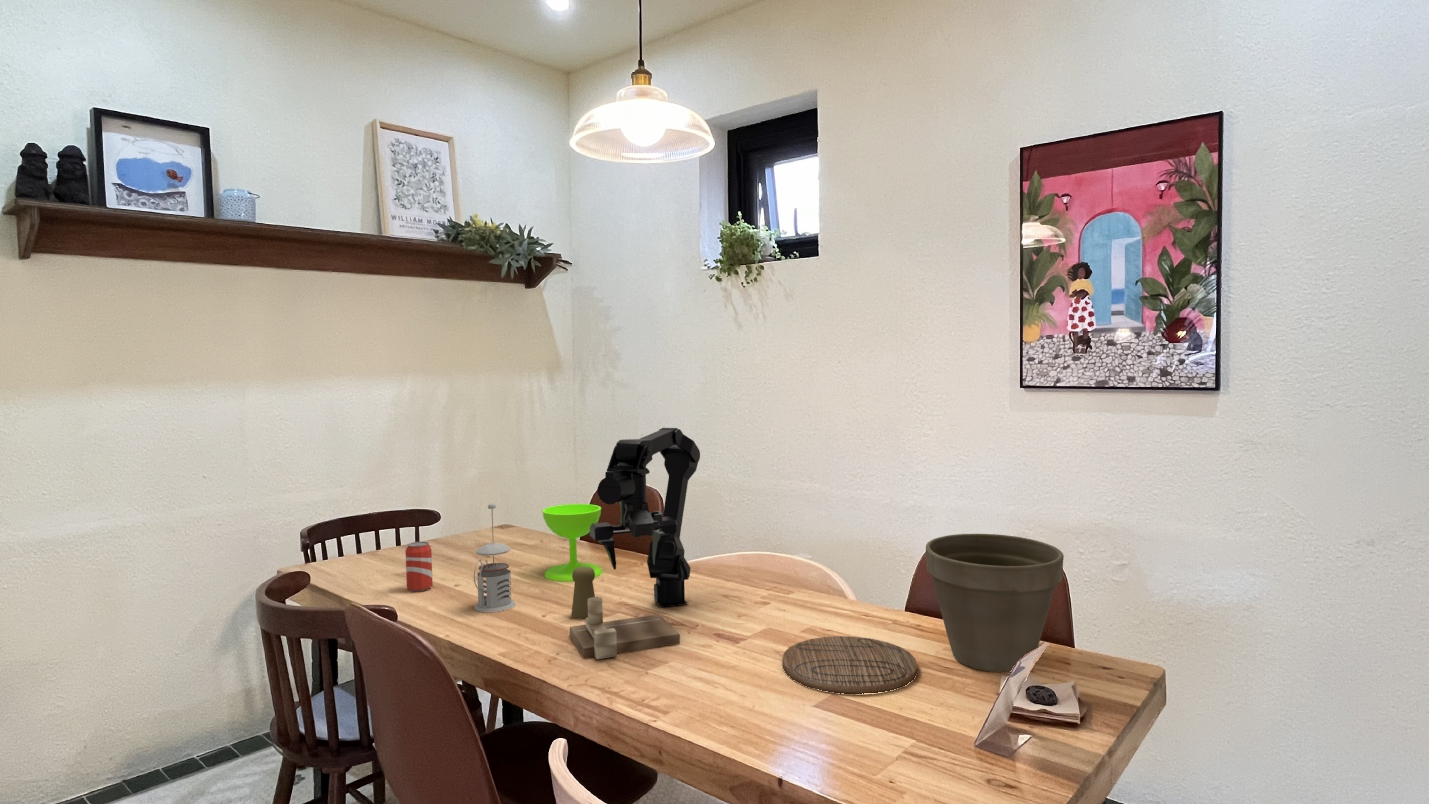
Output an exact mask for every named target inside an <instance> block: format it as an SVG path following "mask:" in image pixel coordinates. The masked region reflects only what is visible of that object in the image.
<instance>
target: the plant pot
mask: <svg viewBox="0 0 1429 804" xmlns="http://www.w3.org/2000/svg"><path fill="white" fill-rule="evenodd" d="M1064 558H1065V557H1064V553H1063V552H1062V551H1061V550H1060V549H1059V548H1057V547H1056V546H1054V545H1051V544H1048V543H1046V542H1044V541H1043V542H1042V541H1039V540H1036V539H1032V538H1028V537H1020V536H1015V535H1007V534H998V533H997V534H996V533H995V534H994V533H959V534H949V535H942V536H939V537H936V538H933V539H931V540H929V541H928V542H927V543H926V545H925V560H926V561H925V562H926V571H927V573H928V574H929V575H930V576H931V577H932V582H933V585H934V586H933V587H934V591H935V593H936V599H937V601H938V605H939V610H940V613H941V616H942V620H943V625H944V628H945V631H946V635H947V639H948V644H949V646H950V649H951V652H952V655H953V657H954V659H955V660H956V661H958V662H959V663H961V664H962V665H964V666H966V667H968V666H969V667H968V668H973V669H975V670H978V671H982V670H983V671H984V672H990V673H1003V674H1005V673H1011V672H1010V671H1011V670H1012V668H1013V666H1014V665H1015V664H1016V662H1017V661H1018V660H1019V659H1020V658H1022V657H1023V656H1024V655H1025V654H1027V653H1029V652H1030V651H1032V650H1034V649H1036V648H1038V649H1039V646H1040V642H1041V638H1042V634H1043V631H1044V628H1045V624H1046V621H1047V618H1048V614H1049V611H1050V608H1051V605H1052V600H1053V596H1054V594H1055V593H1054V592H1055V590H1056V586H1057V585H1059V584H1060V583H1061V582H1062V581H1063V570H1064Z"/></svg>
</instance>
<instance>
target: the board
mask: <svg viewBox="0 0 1429 804" xmlns="http://www.w3.org/2000/svg"><path fill="white" fill-rule="evenodd" d="M602 624H603V625H604V626H605V628H606V629H611V628H614V629H615V630H616V642H617V654H620V653H628V652H634V651H639V650H647V649H653V648H659V647H660V648H661V647H665V646H673V645H678V644H679V645H680V644H681V635H680V633H679V631H677V630H676V629H675V628H674V627H673V626H672V624H670V623H669V622H668V621H667V620H666V619H665V618H664V617H663V616H662V615H661V614H660V613H658V614H652V615H651V614H650V615H643V616H637V617H635V616H634V617H630V618H629V617H628V618H622V619H617V620H616V619H614V620H608V621H603V623H602ZM569 638H570V639H571V640H572V641H573V644H574V645H575V646H576V648H577V650H578V652H579V653H580V655H581V656H582V657H583V659H589V658H596V657H595V654H594V638H593V637H592V635H591V634H590V632H589V631H588V630H587V628H586V624H580V625H573V626H569Z"/></svg>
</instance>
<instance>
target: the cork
mask: <svg viewBox="0 0 1429 804" xmlns="http://www.w3.org/2000/svg"><path fill="white" fill-rule="evenodd" d="M572 578H573V581H572V582H574V586H573V596H572V597H573V598H572V607H571V618H574V619H580V620H586V618H588V598H591V597H596V593H595V588H594V580H595V578H596V577H595V572H594V570H593V568H591V567H578V568H576V569H574V571H573V573H572Z"/></svg>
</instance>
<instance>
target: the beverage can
mask: <svg viewBox="0 0 1429 804" xmlns="http://www.w3.org/2000/svg"><path fill="white" fill-rule="evenodd" d="M432 553H433V552H432V548H431V546H430V543H429V542H428V541H414V542H410V543H408V544H407V547H406V549H405V573H406V575H405V577H406V589H408V590H409V591H410V592H414V593H417V592H418V593H419V592H420V593H421V592H425V591H427V590H430V588H431V587H433V586H434V585H433V561H432V559H433V558H432V556H433V555H432Z"/></svg>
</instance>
